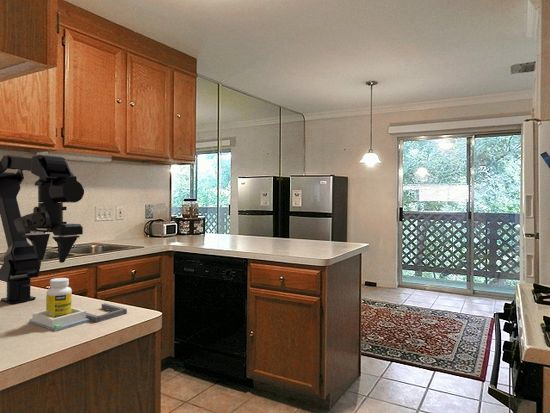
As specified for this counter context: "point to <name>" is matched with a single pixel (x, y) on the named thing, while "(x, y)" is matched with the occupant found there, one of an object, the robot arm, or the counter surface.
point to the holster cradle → (116, 312)
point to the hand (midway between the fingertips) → (51, 261)
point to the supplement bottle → (58, 298)
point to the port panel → (59, 319)
